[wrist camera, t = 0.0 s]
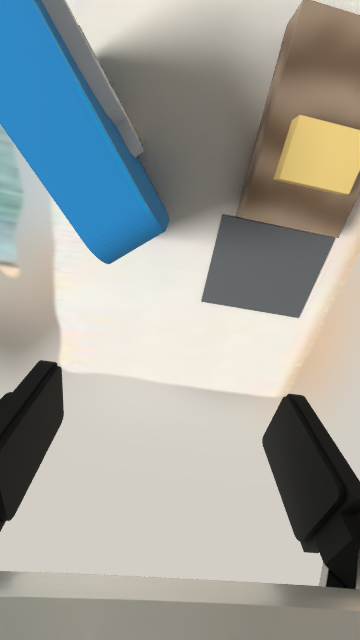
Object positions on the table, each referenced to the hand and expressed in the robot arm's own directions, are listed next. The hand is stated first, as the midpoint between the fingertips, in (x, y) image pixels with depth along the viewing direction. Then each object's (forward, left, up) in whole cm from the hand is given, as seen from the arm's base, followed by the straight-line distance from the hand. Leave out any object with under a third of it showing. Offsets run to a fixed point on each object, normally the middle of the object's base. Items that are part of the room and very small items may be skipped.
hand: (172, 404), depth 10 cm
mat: (0, +15, -31) cm, 35 cm away
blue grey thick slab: (-11, -10, -31) cm, 35 cm away
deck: (-17, +15, -31) cm, 39 cm away
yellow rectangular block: (-15, +15, -27) cm, 34 cm away
